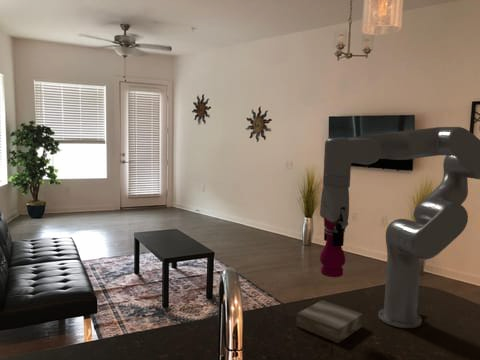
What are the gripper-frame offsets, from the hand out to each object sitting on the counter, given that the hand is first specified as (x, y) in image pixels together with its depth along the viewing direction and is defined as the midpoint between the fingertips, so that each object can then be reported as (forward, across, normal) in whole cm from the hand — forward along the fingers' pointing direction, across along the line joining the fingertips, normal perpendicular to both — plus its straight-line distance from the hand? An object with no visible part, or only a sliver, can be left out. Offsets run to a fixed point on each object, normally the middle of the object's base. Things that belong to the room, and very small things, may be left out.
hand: (333, 242), depth 120 cm
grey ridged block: (+26, 0, 0) cm, 26 cm away
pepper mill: (+10, 0, 0) cm, 10 cm away
